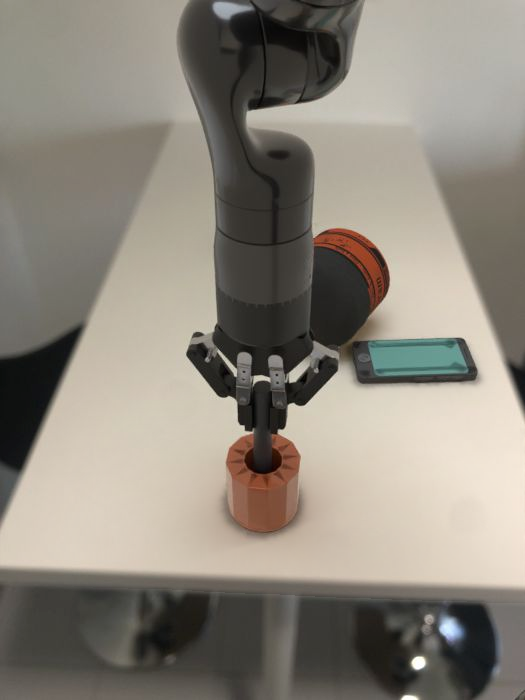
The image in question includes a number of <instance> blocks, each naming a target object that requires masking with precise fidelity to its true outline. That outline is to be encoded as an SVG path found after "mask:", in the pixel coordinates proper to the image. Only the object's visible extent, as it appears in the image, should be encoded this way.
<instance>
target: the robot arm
mask: <svg viewBox="0 0 525 700" xmlns="http://www.w3.org/2000/svg"><path fill="white" fill-rule="evenodd" d="M365 3H366V0H187V2H186V4H185V5H184V7H183V9H182V11H181V13H180V16H179V19H178V23H177V28H176V36H175V37H176V42H175V43H176V52H177V57H178V60H179V64H180V67H181V71H182V74H183V77H184V80H185V82H186V85H187V88H188V91H189V94H190V96H191V98H192V101H193V104H194V107H195V108H196V111H197V115H198V118H199V120H200V124H201V127H202V131H203V134H204V138H205V141H206V142H205V143H206V146H207V149H208V154H209V157H210V164H211V171H212V177H213V178H212V179H213V196H214V197H213V199H214V214H215V215H214V217H215V218H214V219H215V229H214V230H215V231H214V239H213V267H214V285H215V305H216V324H215V325H214V330H213V331H212V332H208V333H206V334H205V333H203V332H202V331H194V332H193V333H192V335H191V338H190V342H189V344H188V347H187V349H186V353H185V355H186V357H187V359H188V361H189V362H190V363H191V364H192V365H193V367H194V368H195V369H196V370H197V372H198V373H199V375H201V377H202V378H203V379H204V380H205V382H206V383H207V385H208V386H209V387H210V388H211V389H212V390H213V392H214V394H216V396H217V397H219V398H220V399H221V398H222V399H226V398H229V397H231V398H233V399H234V400H235V402H236V409H237V411H236V412H237V422H238V424H239V426H243V427H244V432H249V433H253V385H254V384H255V377H257V376H263V377H266V378H269V382H270V384H271V391H272V396H273V400H272V402H271V408H270V434H275V435H278V434H279V431H284V430H285V428H286V426H287V422H288V421H287V420H288V415H289V414H288V413H289V412H288V410H289V405H291V404H295V406H298V407H305V406H306V405H307V404H308V403H309V402H310V401H311V400H312V399H313V398H314V397H315V396H316V395H317V394H318V392H320V391H321V390H322V389H323V387H324V386H325V385H326V384H327V383H328V382H329V381H330V380H331V379H333V377H334V376H335V375H336V374H337V373H338V371H339V365H340V352H341V349H340V347H338V346H336V345H328V346H327V347H325V346H323V345H321V344H320V343H318V342H316V341H315V336H314V333H313V331H312V330H311V328H310V307H311V290H312V275H313V269H314V242H313V239H314V233H313V217H314V215H313V214H314V201H315V199H314V197H315V179H316V163H315V162H316V161H315V156H314V152H313V150H312V148H311V146H310V145H309V143H308V142H307V141H306V140H305V139H303V138H301V136H298V135H296V134H293V133H291V132H287V131H282V130H278V129H277V130H276V129H267V128H260V127H259V128H258V127H252V126H248V123H247V114H248V112H251V111H259V110H265V109H272V108H278V107H279V108H280V107H285V106H291V105H300V104H301V105H302V104H309V103H313V102H316V101H318V100H321V99H323V98H325V97H326V96H329V95H330V94H332V93H333V92H334V91H335V90H336V89H338V88H339V87H340V85H342V84H343V83H344V81H345V80H346V78H347V77H348V75H349V72H350V70H351V66H352V62H353V56H354V50H355V45H356V39H357V34H358V30H359V27H360V23H361V20H362V14H363V11H364V6H365ZM218 351H219V352H220V353H221V354H222V355H223V356H224V358H226V359H227V361H228V362H229V363H230V364H231V365H232V366H233V367H234V368H235V370H236V376H235V374H234V372H233V370H232V369H231V368H230V367H229V365H228V364H227V362H226V361H225V360H224V359H223V357H222V356H221V354H220V353H219V352H218ZM308 357H310V361H309V366H308V367H307V368H306V369H305V370H303V372H302V373H301V374H300V376H299V377H298V378H297V379H296V380H295V381H291V382H290V373H291V372H292V371H293V370H294V369H295V368H297V367H298V366H299V365H300V364H301V363H302V362H303V361H304V360H305V359H307V358H308ZM514 700H525V689H524V690H523V691H521V693H520V694H518V696H517V697H516V698H515V699H514Z"/></svg>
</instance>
